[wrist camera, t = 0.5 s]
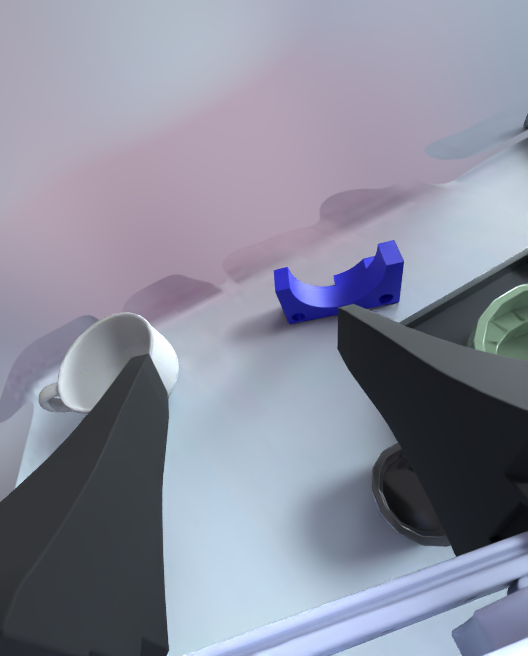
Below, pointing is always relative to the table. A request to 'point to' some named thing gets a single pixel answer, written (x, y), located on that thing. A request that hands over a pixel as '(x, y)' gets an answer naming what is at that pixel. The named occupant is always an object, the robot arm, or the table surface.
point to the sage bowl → (504, 326)
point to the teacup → (107, 362)
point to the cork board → (526, 122)
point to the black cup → (405, 500)
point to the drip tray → (469, 301)
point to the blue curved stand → (343, 287)
